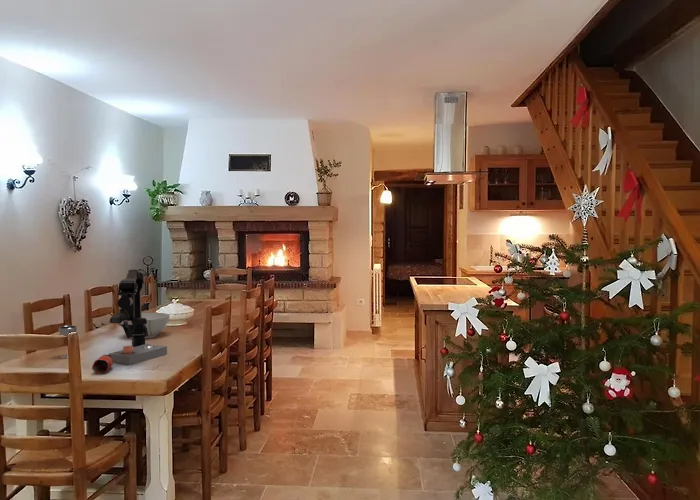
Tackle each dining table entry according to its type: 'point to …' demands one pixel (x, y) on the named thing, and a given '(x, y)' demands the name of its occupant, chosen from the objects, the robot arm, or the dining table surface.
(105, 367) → the beverage can
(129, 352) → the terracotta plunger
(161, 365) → the dining table surface
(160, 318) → the decorative bowl
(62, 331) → the wine glass
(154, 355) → the press block
